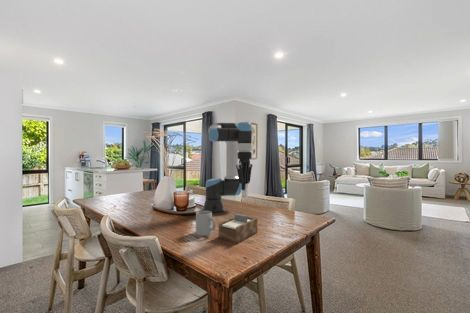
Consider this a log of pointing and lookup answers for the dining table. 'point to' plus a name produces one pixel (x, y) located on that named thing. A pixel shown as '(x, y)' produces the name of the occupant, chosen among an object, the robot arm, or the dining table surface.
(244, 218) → the lid
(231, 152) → the robot arm
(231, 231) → the box
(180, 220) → the dining table surface
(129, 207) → the dining table surface
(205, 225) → the mug
